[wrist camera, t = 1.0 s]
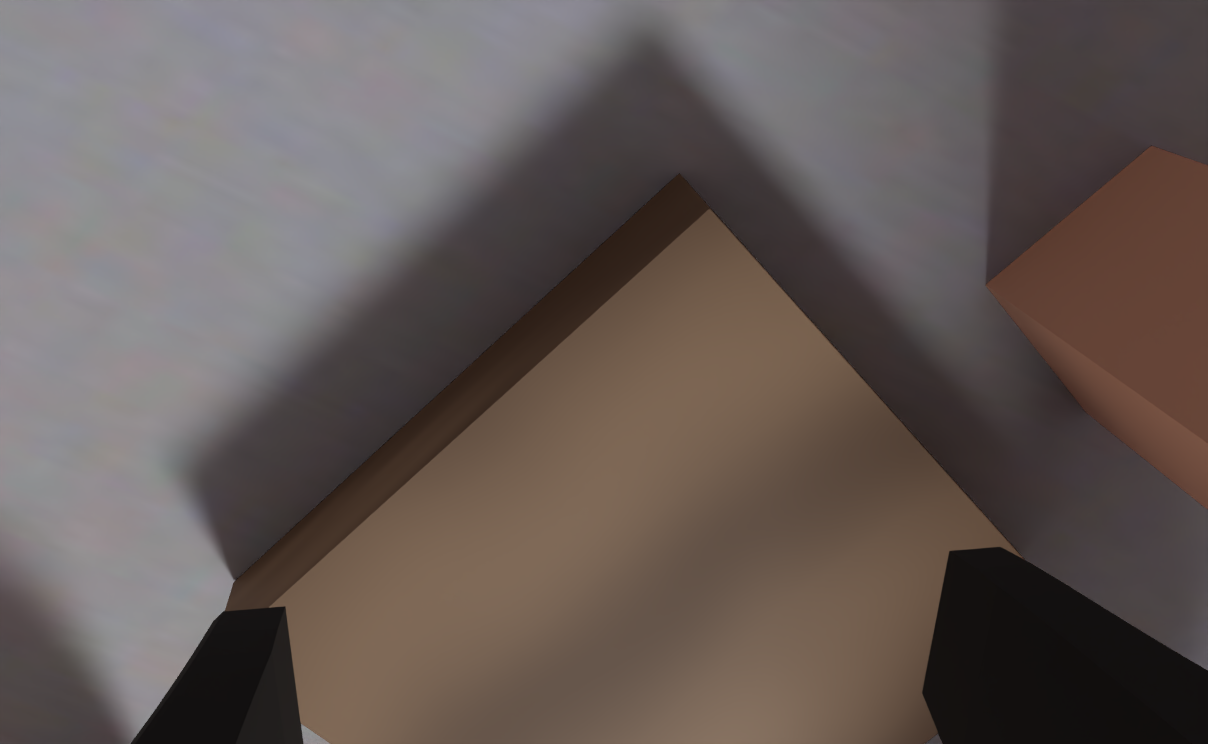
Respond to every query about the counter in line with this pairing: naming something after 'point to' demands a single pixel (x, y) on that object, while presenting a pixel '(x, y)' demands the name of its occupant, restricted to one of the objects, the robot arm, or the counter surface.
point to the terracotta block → (1129, 310)
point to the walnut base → (631, 528)
